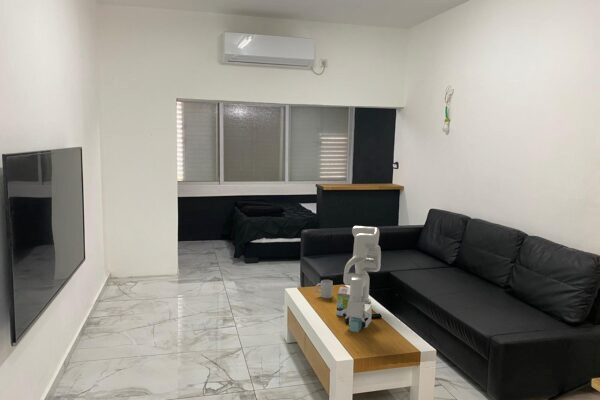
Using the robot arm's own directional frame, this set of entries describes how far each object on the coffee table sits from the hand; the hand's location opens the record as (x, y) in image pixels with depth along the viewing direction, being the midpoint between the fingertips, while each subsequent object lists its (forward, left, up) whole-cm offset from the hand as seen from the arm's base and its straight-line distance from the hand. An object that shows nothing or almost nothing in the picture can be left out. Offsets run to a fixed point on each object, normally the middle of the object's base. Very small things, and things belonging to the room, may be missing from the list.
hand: (355, 326), depth 272 cm
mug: (-46, -37, -2) cm, 59 cm away
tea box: (-24, -14, -2) cm, 28 cm away
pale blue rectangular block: (-3, 0, -2) cm, 4 cm away
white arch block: (-11, 0, -2) cm, 11 cm away
